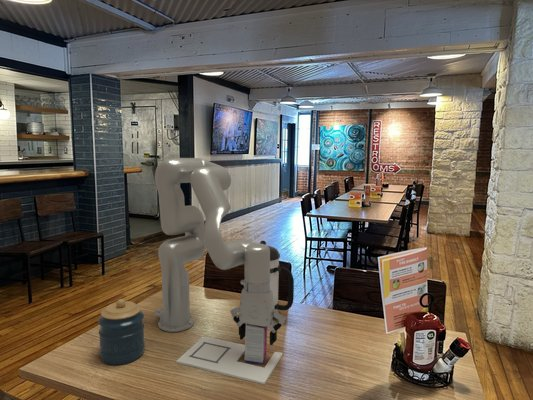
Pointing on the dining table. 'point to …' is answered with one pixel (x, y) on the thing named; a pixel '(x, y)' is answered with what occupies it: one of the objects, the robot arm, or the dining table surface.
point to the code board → (226, 360)
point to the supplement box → (255, 344)
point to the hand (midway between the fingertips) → (257, 340)
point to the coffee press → (275, 279)
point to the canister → (121, 333)
